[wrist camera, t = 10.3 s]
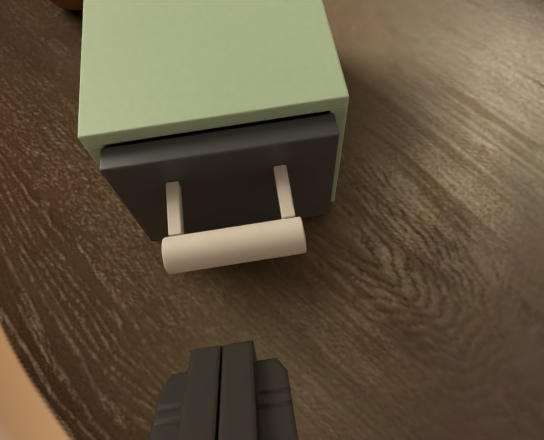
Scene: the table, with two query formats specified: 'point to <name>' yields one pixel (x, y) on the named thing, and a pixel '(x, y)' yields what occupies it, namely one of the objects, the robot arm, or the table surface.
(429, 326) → the table surface
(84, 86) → the green drawer cabinet
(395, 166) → the table surface
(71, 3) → the wooden figurine
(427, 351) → the table surface
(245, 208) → the fryer drawer
